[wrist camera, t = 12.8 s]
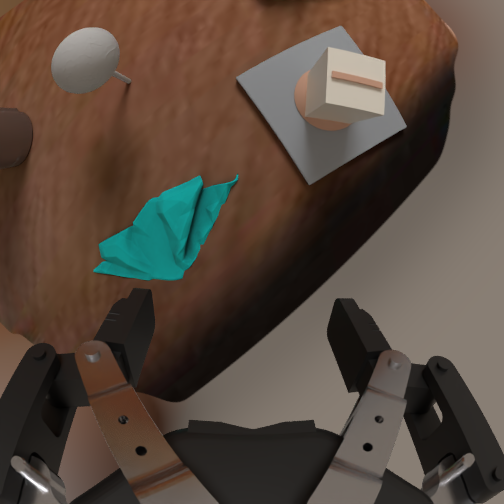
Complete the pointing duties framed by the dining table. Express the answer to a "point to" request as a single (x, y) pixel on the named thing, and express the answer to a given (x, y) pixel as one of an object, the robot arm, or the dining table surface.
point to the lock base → (294, 102)
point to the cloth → (165, 233)
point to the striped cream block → (345, 87)
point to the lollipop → (86, 61)
